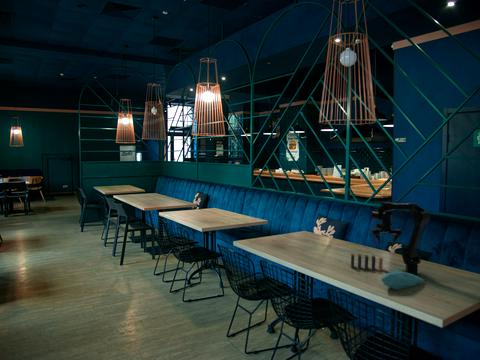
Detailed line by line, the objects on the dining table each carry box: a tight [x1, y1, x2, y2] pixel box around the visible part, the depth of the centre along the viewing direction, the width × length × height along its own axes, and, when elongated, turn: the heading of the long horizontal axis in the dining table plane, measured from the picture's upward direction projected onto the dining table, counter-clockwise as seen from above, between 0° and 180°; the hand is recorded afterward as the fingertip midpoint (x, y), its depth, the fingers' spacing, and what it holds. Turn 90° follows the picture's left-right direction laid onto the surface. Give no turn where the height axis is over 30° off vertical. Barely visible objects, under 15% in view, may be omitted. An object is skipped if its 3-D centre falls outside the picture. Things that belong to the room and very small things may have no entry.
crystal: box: [380, 269, 425, 291], centre depth 199 cm, size 10×34×10 cm, turn 115°
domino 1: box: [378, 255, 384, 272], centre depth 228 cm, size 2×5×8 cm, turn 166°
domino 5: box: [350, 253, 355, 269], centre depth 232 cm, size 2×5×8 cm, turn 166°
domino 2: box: [371, 255, 376, 271], centre depth 229 cm, size 2×5×8 cm, turn 166°
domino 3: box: [364, 254, 369, 270], centre depth 230 cm, size 2×5×8 cm, turn 166°
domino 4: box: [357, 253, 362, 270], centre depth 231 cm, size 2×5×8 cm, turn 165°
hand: (385, 244), depth 237 cm, fingers open, 9 cm apart
